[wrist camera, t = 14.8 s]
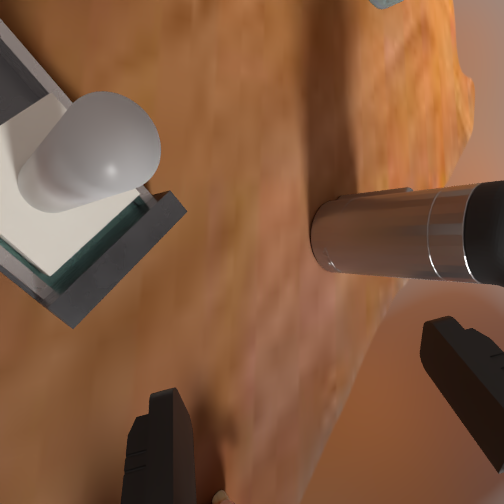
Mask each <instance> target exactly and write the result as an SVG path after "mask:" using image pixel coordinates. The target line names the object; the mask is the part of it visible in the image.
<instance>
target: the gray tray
mask: <svg viewBox="0 0 504 504" xmlns="http://www.w3.org/2000/svg"><path fill="white" fill-rule="evenodd" d="M51 92H52V93H53V94H54V96H55V97H56V98H57V99H58V100H59V101H60V102H61V104H62V105H63V106H64V107H65V108H66V109H67V110H68V108H69V107H70V106H71V105H72V104H73V103H72V102H71V100H70V99H69V98H68V97H67V96H66V95H65V93H64V92H63V91H62V90H61V89H60V88H59V86H58V85H57V84H56V83H55V82H54V81H53V79H52V78H51V77H50V76H49V75H48V74H47V72H46V71H45V70H44V69H43V68H42V67H41V65H40V64H39V63H38V62H37V61H36V60H35V58H34V57H33V56H32V55H31V54H30V53H29V51H28V50H27V49H26V48H25V47H24V46H23V44H22V43H21V42H20V41H19V40H18V39H17V37H16V36H15V35H14V34H13V33H12V32H11V30H10V29H9V28H8V27H7V26H6V25H5V23H4V22H3V21H2V20H1V19H0V125H2V124H3V123H5V122H6V121H8V120H9V119H11V118H12V117H14V116H16V115H17V114H19V113H20V112H22V111H23V110H25V109H26V108H28V107H29V106H31V105H32V104H34V103H36V102H37V101H39V100H40V99H42V98H43V97H45V96H46V95H48V94H49V93H51ZM136 189H137V191H138V192H139V193H140V195H139V196H137V197H136V198H135V199H134V200H133V201H132V202H131V203H130V204H129V205H128V206H127V207H125V208H124V209H123V210H122V211H121V212H120V213H119V214H118V215H117V216H116V217H115V218H113V219H112V220H111V221H110V222H109V223H108V224H107V225H106V226H105V227H104V228H103V229H101V230H100V231H99V232H98V233H97V234H96V235H95V236H94V237H93V238H92V239H91V240H90V241H88V242H87V243H86V244H85V245H84V246H83V247H82V248H81V249H80V250H79V251H78V252H76V253H75V254H74V255H73V256H72V257H71V258H70V259H69V260H68V261H67V262H66V263H64V264H63V265H62V266H61V267H60V268H59V269H58V270H57V271H56V272H55V273H54V274H52V275H51V276H48V275H45V274H42V273H41V272H40V271H39V270H37V269H36V268H35V267H34V266H33V265H32V264H30V263H29V262H28V261H27V260H26V259H24V258H23V257H22V256H21V255H20V254H19V253H17V252H16V251H15V250H14V249H13V248H12V247H10V246H9V245H8V244H7V243H6V242H5V241H3V240H2V239H1V238H0V272H2V273H3V274H4V275H5V276H7V277H8V278H9V279H10V280H12V281H13V282H14V283H15V284H17V285H18V286H19V287H20V288H22V289H23V290H24V291H25V292H26V293H28V294H29V295H30V296H31V297H33V298H34V299H35V300H36V301H38V302H39V303H40V304H41V305H43V306H44V307H45V308H46V309H48V310H49V311H50V312H51V313H53V314H54V315H55V316H56V317H58V318H59V319H60V320H62V321H63V322H64V323H66V324H67V325H68V326H70V327H71V328H72V329H74V328H75V327H76V326H77V325H78V324H79V323H80V322H81V320H82V319H83V318H84V317H85V316H86V315H87V314H88V313H89V312H90V311H91V310H92V309H93V308H94V307H95V306H96V305H97V304H98V303H99V302H100V301H101V300H102V299H103V298H104V297H105V296H106V295H107V294H108V293H109V292H110V291H111V290H112V289H113V288H114V287H115V285H116V284H117V283H118V282H119V281H120V280H121V279H122V278H123V277H124V276H125V275H126V274H127V273H128V272H129V271H130V270H131V269H132V268H133V267H134V266H135V265H136V264H137V263H138V262H139V261H140V260H141V259H142V258H143V257H144V256H145V255H146V254H147V253H148V252H149V250H150V249H151V248H152V247H153V246H154V245H155V244H156V243H157V242H158V241H159V240H160V239H161V238H162V237H163V236H164V235H165V234H166V233H167V232H168V231H169V230H170V229H171V228H172V227H173V226H174V225H175V224H176V223H177V222H178V221H179V220H180V219H181V218H182V217H183V215H184V214H185V213H186V212H187V210H186V209H185V208H184V207H183V206H182V204H181V203H180V202H179V201H178V200H177V198H176V197H175V196H174V195H173V193H172V192H171V191H166V192H162V193H158V194H154V195H151V194H150V193H149V191H148V190H147V189H146V188H145V187H144V186H143V185H142V186H140V187H138V188H136Z"/></svg>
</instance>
